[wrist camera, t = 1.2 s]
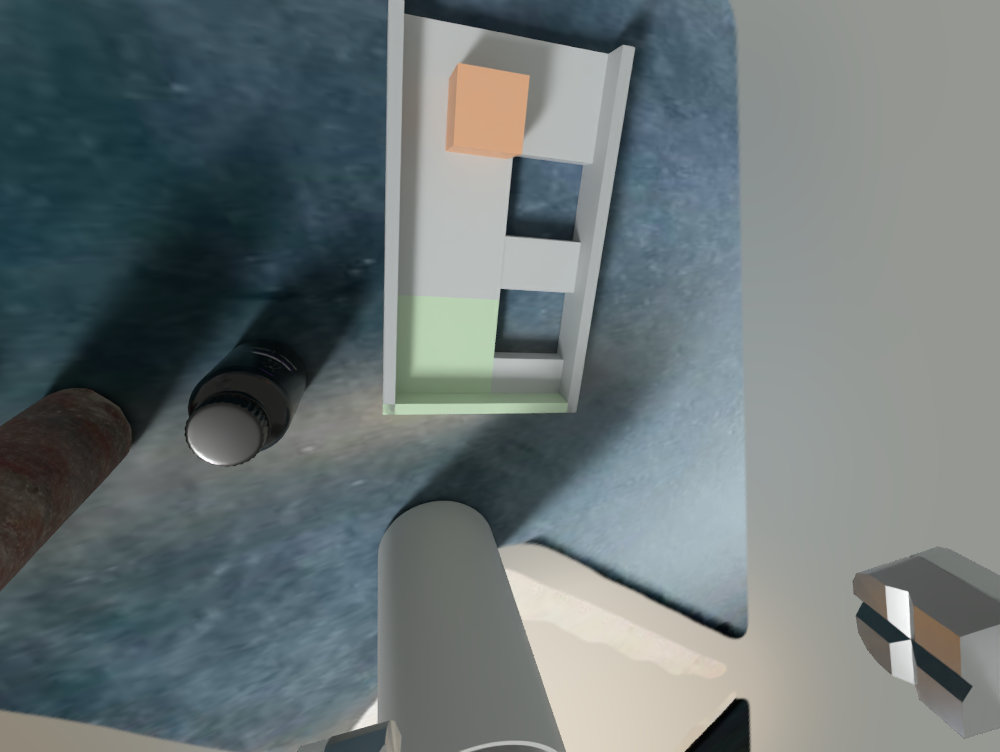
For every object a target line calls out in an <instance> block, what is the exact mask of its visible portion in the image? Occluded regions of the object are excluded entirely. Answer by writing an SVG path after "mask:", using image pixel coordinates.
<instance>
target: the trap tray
mask: <svg viewBox="0 0 1000 752" xmlns="http://www.w3.org/2000/svg"><path fill="white" fill-rule="evenodd" d="M634 51H635V47H632V46H627V45H622V46H620V47H619V48H617V49H616V50H614V51H612V52H611V53H609V54H606V53H601V52H596V51H591V50H586V49H581V48H575V47H570V46H565V45H560V44H555V43H550V42H545V41H540V40H535V39H530V38H525V37H521V36H516V35H510V34H505V33H500V32H495V31H490V30H485V29H480V28H475V27H470V26H465V25H460V24H454V23H449V22H444V21H439V20H434V19H429V18H424V17H419V16H414V15H409V14H404V0H389V4H388V34H387V108H386V182H385V256H384V330H383V415H405V414H496V413H576V411H577V405H578V399H579V393H580V387H581V380H582V374H583V368H584V362H585V356H586V349H587V343H588V337H589V331H590V325H591V318H592V312H593V306H594V300H595V294H596V287H597V281H598V275H599V269H600V262H601V256H602V250H603V244H604V238H605V231H606V225H607V219H608V213H609V207H610V200H611V194H612V188H613V182H614V176H615V169H616V163H617V157H618V151H619V145H620V138H621V132H622V126H623V120H624V113H625V107H626V101H627V95H628V89H629V82H630V76H631V70H632V64H633V58H634ZM458 63H462V64H468V65H473V66H479V67H485V68H491V69H496V70H502V71H508V72H513V73H519V74H525V75H530V78H529V88H528V98H527V108H526V118H525V128H524V138H523V148H522V155H519V156H517V157H525V158H533V159H540V160H548V161H556V162H563V163H571V164H579V165H583V170H582V177H581V184H580V191H579V198H578V206H577V213H576V220H575V227H574V234H573V241H569V240H557V239H546V238H534V237H523V236H511V235H506V225H507V214H508V203H509V193H510V182H511V172H512V161H513V157H512V158H509V159H502V158H494V157H486V156H479V155H471V154H463V153H455V152H447V151H445V147H446V127H447V108H448V88H449V77H450V76H451V74H452V72H453V71H454V69H455V67H456V66H457V64H458ZM500 289H514V290H532V291H549V292H565V298H564V306H563V313H562V320H561V327H560V334H559V341H558V348H557V353H512V352H494V350H495V340H496V329H497V318H498V308H499V299H500Z"/></svg>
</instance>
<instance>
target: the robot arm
mask: <svg viewBox="0 0 1000 752" xmlns="http://www.w3.org/2000/svg"><path fill="white" fill-rule="evenodd" d="M853 591H854V594H855V595H856V596H857V597H858V598H859V599H860V600H861V601H863V603H862V605H861V607H860V608H859V611H858V613H857V615H856V620H857V627H858V633H859V635H860V636H861V638H862V640H863V642H864V644H865V646H866V648H867V650H868V651H869V652H870V654H872V656H873V657H874V659H875V660H876V661H877V662H878V663H879V664H880V665H881V666H882V667H883V668H884V669H885V670H887V671H888V672H889V673H890V674H891V675H892V676H894V677H897V678H899V679H902V680H905V681H907V682H909V683H912V684H914V685H915V688H916V691H917V694H918V697H919V700H920V701H921V702H923V703H924V704H925V705H926V706H927V707H929V709H931V710H932V711H933V712H934V713H935V714H936V715H937V716H939V717H940V718H941V719H942V720H943V721H944V722H945V723H947V724H948V725H949V726H950V727H951V728H952V729H954V731H956V732H957V733H958V734H959V735H960V736H961V737H963V738H964V739H965V738H968V737H971V736H975V735H978V734H981V733H985V732H988V731H992V730H995V729H998V728H1000V575H998V574H996V573H994V572H992V571H990V570H989V569H987V568H985V567H983V566H981V565H979V564H977V563H975V562H973V561H971V560H969V559H968V558H966V557H964V556H962V555H960V554H958V553H956V552H954V551H952V550H950V549H947V548H942V547H935V548H932V549H929V550H926V551H923V552H920V553H917V554H914V555H911V556H910V557H905V558H902V559H899V560H896V561H893V562H890V563H887V564H883V565H880V566H877V567H874V568H871V569H868V570H865V571H862V572H859V573H857V574H856V575H855V578H854V580H853ZM401 738H402V737H401V734H400V732H399V730H398V727H397V725H396V722H395V721H391V720H389V721H386V722H382V723H379V724H375V725H372V726H368V727H365V728H361V729H358V730H354V731H351V732H347V733H344V734H340V735H337V736H333V737H331V738H329V739H325V740H322V741H318V742H315V743H311V744H307V745H304V746H301V747H300V748H299V749H298V751H297V752H400V749H401Z"/></svg>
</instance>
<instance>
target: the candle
mask: <svg viewBox="0 0 1000 752" xmlns="http://www.w3.org/2000/svg"><path fill="white" fill-rule="evenodd" d="M131 442H132V436H131V427H130V424H129V423H128V421H127V420H126V418H125V416H124V414H123V412H122V411H121V409H120V407H118V406H117V405H115V404H114V403H112V402H111V401H109V400H108V399H106V398H104V397H103V396H101V395H99V394H98V393H96V392H94V390H90V389H87V388H70V389H64V390H60V391H57V392H55V393H52V394H50V395H48V396H46V397H44V398H43V399H41V400H40V401H38V402H37V403H35V404H34V405H32V406H30V407H29V408H27V409H26V410H24V411H23V412H21V413H20V414H18V415H17V416H15V417H13V418H12V419H11V420H9V421H8V422H6V423H5V424H3V425H2V426H0V591H1V590H2V589H3V588H4V587H5V586H6V585H7V584H8V582H9V581H10V580H11V579H12V578H13V577H14V576H15V575H16V574H17V573H18V572H19V571H20V570H21V569H22V568H23V567H24V565H25V564H26V563H27V562H28V561H29V560H30V559H31V557H32V556H33V555H34V554H35V553H36V552H37V551H38V550H39V549H40V548H41V547H42V546H43V545H44V544H45V543H46V542H47V540H48V539H49V538H50V537H51V536H52V535H53V534H54V533H55V532H56V531H57V530H58V529H59V528H60V526H61V525H62V524H63V523H64V522H65V521H66V520H67V519H68V518H69V517H70V516H71V515H72V514H73V513H74V512H75V511H76V509H77V508H78V507H79V506H80V505H81V504H82V503H83V502H84V501H85V500H86V499H87V498H88V497H89V496H90V495H91V494H92V493H93V491H94V490H95V489H96V488H97V487H98V486H99V485H100V484H101V483H102V482H103V481H104V480H105V479H106V478H107V477H108V476H109V474H110V473H111V472H112V471H113V470H114V469H115V468H116V467H117V466H118V464H119V463H120V462H121V461H122V460H123V459H124V458H125V456H126V455H127V454H128V452H129V450H130V447H131Z"/></svg>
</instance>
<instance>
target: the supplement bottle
mask: <svg viewBox="0 0 1000 752" xmlns="http://www.w3.org/2000/svg"><path fill="white" fill-rule="evenodd" d="M306 383H307V373H306V369H305V366H304V364H303V362H302V360H301V359H300V357H299V356H298V355H297V354H296V353H295V352H294V351H293V350H292V349H291V348H289V347H288V346H286V345H284V344H282V343H279V342H277V341H273V340H266V339H258V340H251V341H248V342H245V343H243V344H241V345H239V346H237V347H236V348H235V349H233V350H232V351H231V352H230V353H229V354H228V355H227V356H226V357H225V358H224V359H223V360H222V361H220V362H219V363H218V364H217V365H216V366H215V367H214V368H213V369H212V370H211V371H210V372H209V373H208V374H207V375H206V376H205V377H204V378H203V379H202V380H201V381H200V382H199V383H198V384H197V385H196V387H195V388H194V390H193V391H192V394H191V396H190V399H189V404H188V414H189V419H188V420H187V422H186V424H187V425H186V427H185V431H186V432H185V437H186V442H187V443H188V444H189V448H190V449H192V451H193V453H194V454H196V455H197V456H198V457H199V458H201V459H203V460H204V461H205V462H210V463H211V464H214V465H215V464H216V465H218V466H227V467H228V466H236V465H238V464H243V463H244V462H248V461H250V459H251V458H254V457H255V456H256V454H258V453H259V452H260V451H263V450H265V449H268V448H269V447H271V446H273V445H274V444H275V443H277V442H278V441H279V440H280V439H281V438H282V437H283V436H284V434H285V433H286V431H287V429H288V428H289V426H290V423H291V421H292V419H293V416H294V414H295V412H296V410H297V407H298V405H299V403H300V400H301V398H302V396H303V393H304V391H305V388H306Z"/></svg>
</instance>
